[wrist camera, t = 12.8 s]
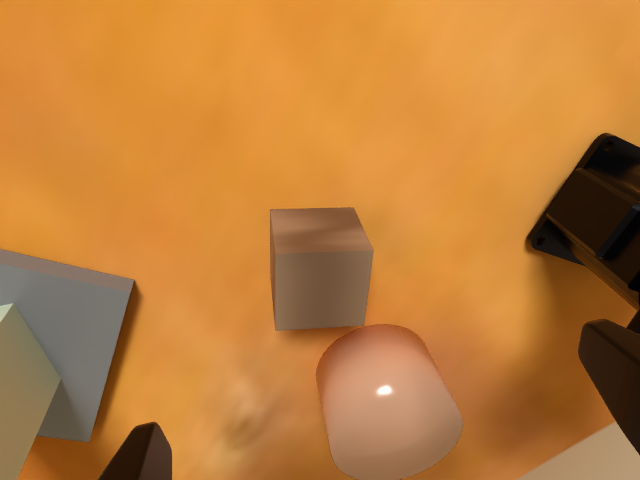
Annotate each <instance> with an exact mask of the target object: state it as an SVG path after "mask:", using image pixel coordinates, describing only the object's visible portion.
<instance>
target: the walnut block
mask: <svg viewBox="0 0 640 480" xmlns="http://www.w3.org/2000/svg"><path fill="white" fill-rule="evenodd" d="M372 258H373V248H372V246H371V244H370V242H369V240H368V237H367V235H366V233H365V231H364V229H363V227H362V225H361V222H360V220H359V218H358V216H357V214H356V212H355V210H354V208H310V209H270V268H271V289H272V299H273V309H274V320H275V330H276V331H281V330H297V329H313V328H329V327H345V326H361V325H364V322H365V314H366V306H367V298H368V290H369V282H370V274H371V266H372Z"/></svg>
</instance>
